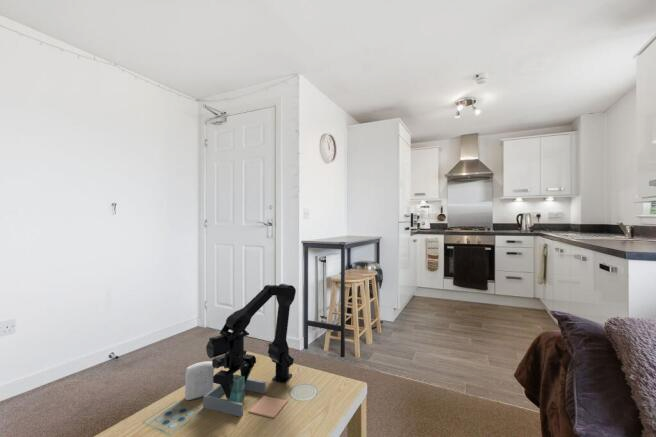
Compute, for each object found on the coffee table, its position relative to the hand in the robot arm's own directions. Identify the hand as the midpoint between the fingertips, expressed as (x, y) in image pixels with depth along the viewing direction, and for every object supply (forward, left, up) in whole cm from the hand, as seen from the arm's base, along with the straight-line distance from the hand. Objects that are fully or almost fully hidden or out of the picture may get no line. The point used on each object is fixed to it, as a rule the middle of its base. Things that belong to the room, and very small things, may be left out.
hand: (235, 391), depth 113 cm
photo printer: (+2, -15, -3) cm, 15 cm away
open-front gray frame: (0, 0, -3) cm, 3 cm away
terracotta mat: (0, +14, -3) cm, 14 cm away
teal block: (0, 0, -3) cm, 3 cm away
